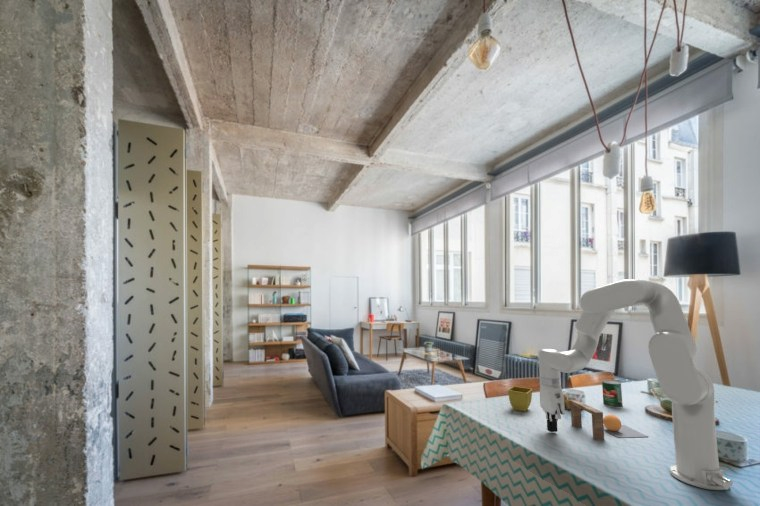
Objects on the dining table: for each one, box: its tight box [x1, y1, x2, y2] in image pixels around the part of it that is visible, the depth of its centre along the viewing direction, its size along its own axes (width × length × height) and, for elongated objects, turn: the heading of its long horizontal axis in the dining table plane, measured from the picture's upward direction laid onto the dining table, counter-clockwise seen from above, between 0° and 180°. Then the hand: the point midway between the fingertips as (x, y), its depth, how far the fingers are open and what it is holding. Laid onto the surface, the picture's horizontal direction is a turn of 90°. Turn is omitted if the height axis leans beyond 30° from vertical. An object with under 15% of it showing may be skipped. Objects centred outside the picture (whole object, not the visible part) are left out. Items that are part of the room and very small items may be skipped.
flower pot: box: [507, 385, 533, 412], centre depth 165 cm, size 9×9×9 cm
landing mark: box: [604, 424, 649, 439], centre depth 139 cm, size 12×12×1 cm
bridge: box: [570, 400, 605, 441], centre depth 139 cm, size 15×3×10 cm, turn 5°
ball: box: [603, 414, 622, 432], centre depth 140 cm, size 6×6×6 cm
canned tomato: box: [601, 379, 623, 408], centre depth 173 cm, size 8×8×11 cm
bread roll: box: [563, 394, 574, 411], centre depth 169 cm, size 10×10×8 cm
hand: (552, 430), depth 137 cm, fingers closed
